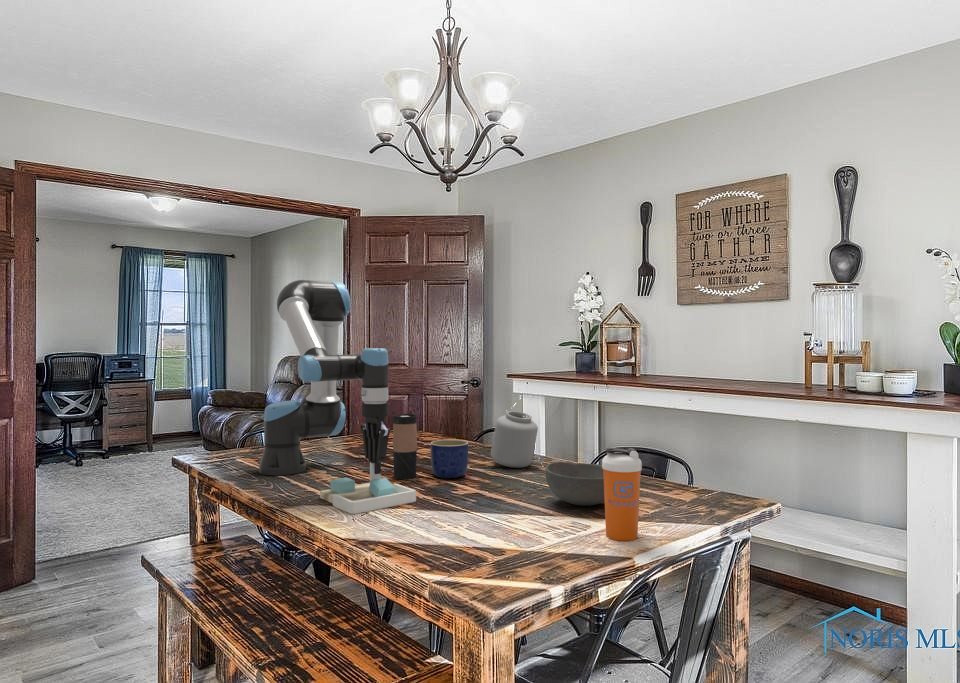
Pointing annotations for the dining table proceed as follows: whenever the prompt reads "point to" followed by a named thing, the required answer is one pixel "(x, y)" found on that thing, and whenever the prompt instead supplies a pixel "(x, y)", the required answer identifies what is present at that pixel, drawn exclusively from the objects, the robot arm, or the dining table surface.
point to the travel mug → (404, 446)
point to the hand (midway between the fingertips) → (375, 484)
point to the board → (349, 493)
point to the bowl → (576, 482)
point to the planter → (449, 458)
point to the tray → (376, 500)
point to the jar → (514, 440)
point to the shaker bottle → (621, 493)
